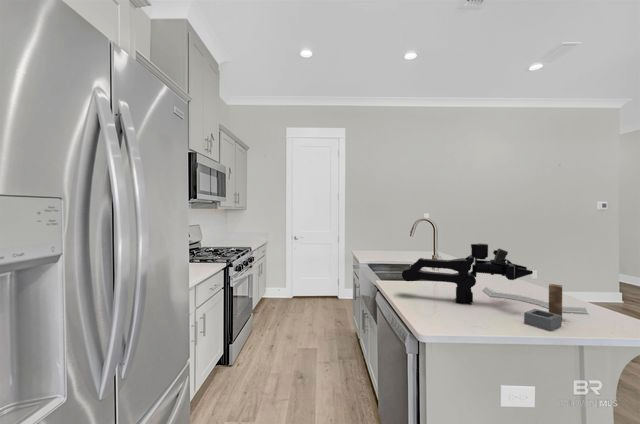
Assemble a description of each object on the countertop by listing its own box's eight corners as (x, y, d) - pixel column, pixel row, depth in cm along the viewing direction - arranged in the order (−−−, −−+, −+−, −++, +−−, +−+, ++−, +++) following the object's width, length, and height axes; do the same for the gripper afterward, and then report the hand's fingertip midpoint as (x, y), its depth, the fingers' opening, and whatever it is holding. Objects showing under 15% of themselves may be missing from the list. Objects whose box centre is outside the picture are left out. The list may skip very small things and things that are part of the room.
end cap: (524, 323, 110) (524, 312, 110) (535, 319, 114) (535, 308, 114) (550, 331, 103) (550, 319, 103) (561, 326, 107) (561, 315, 107)
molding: (591, 314, 122) (591, 307, 122) (581, 320, 115) (581, 312, 115) (486, 290, 157) (486, 285, 157) (473, 294, 150) (473, 288, 150)
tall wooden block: (548, 319, 114) (548, 285, 114) (549, 316, 117) (549, 283, 117) (562, 321, 112) (562, 287, 111) (562, 318, 115) (562, 285, 115)
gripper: (491, 251, 123) (536, 254, 117) (485, 246, 140) (524, 248, 134) (490, 278, 123) (535, 282, 117) (484, 270, 140) (523, 273, 134)
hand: (529, 270), depth 126 cm, fingers open, 9 cm apart
